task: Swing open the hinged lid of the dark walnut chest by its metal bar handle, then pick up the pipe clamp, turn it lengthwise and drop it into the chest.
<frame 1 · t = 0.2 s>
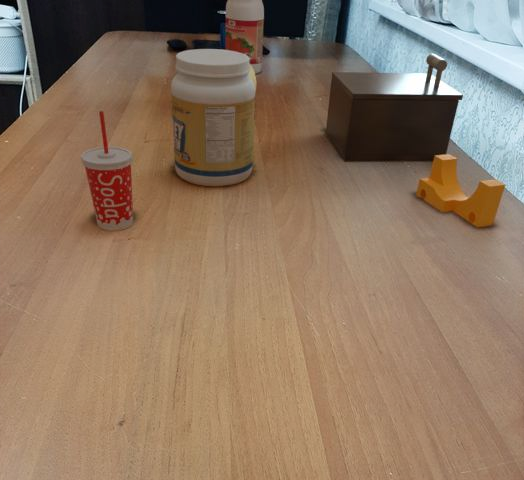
fruit juice: (243, 71, 148), on the table
chest: (382, 146, 104), on the table
chest lid: (396, 72, 96), point 13 cm above the table, hinge at 0.0°
pipe clamp: (451, 215, 82), on the table
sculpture: (226, 108, 120), on the table
beverage cup: (115, 224, 75), on the table
supplement tub: (214, 175, 90), on the table
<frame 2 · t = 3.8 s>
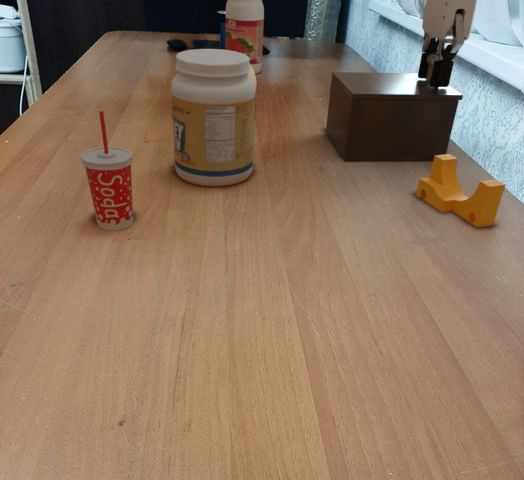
hand: (432, 81, 98), 11 cm above the table, tool pointing down, fingers closed on chest lid, 5 cm apart
chest lid: (396, 72, 96), point 13 cm above the table, hinge at 0.0°, touching gripper
everything else where it was.
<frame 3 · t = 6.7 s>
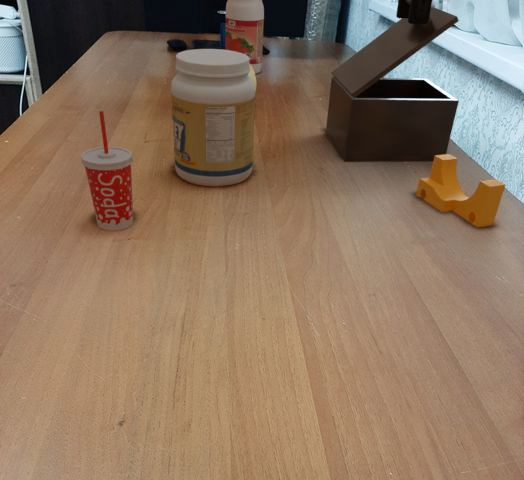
hand: (411, 19, 92), 20 cm above the table, tool pointing down, fingers closed on chest lid, 5 cm apart
chest lid: (383, 37, 93), point 18 cm above the table, hinge at 37.3°, touching gripper
everything else where it was.
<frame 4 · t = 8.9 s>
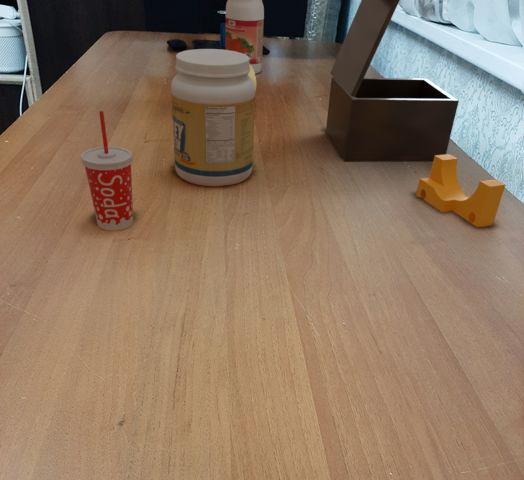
chest lid: (356, 21, 91), point 20 cm above the table, hinge at 70.3°, touching gripper
everything else where it was.
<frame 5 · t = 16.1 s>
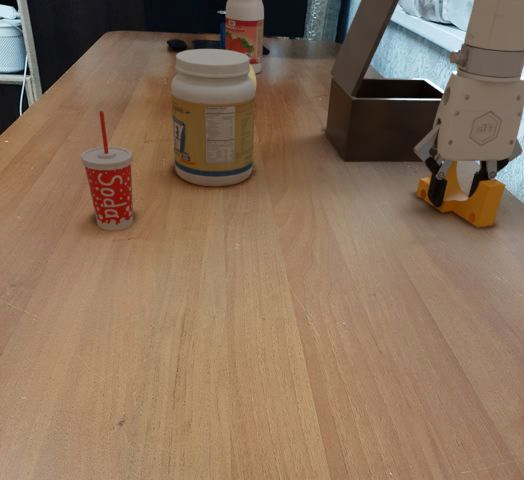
hand: (454, 202, 80), 2 cm above the table, tool pointing down, fingers closed on pipe clamp, 5 cm apart
chest lid: (355, 21, 91), point 20 cm above the table, hinge at 70.6°
pipe clamp: (451, 215, 82), on the table, touching gripper
everything else where it was.
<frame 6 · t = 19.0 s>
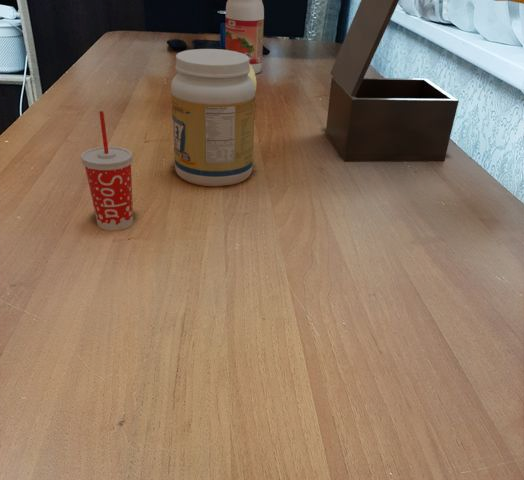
pipe clamp: (507, 2, 65), point 26 cm above the table, touching gripper
everything else where it was.
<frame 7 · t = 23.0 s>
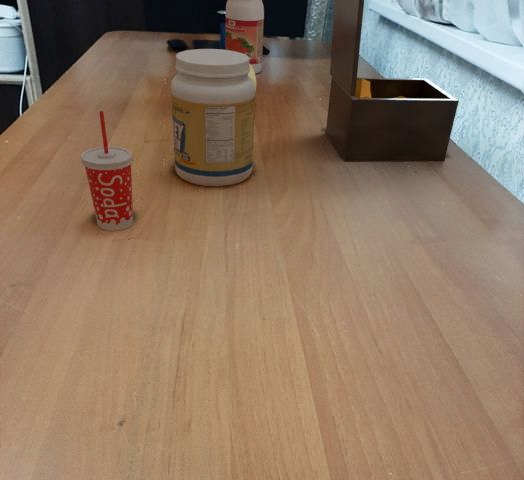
chest lid: (333, 22, 90), point 20 cm above the table, hinge at 92.3°
pipe clamp: (379, 128, 100), point 4 cm above the table, touching chest
everything else where it was.
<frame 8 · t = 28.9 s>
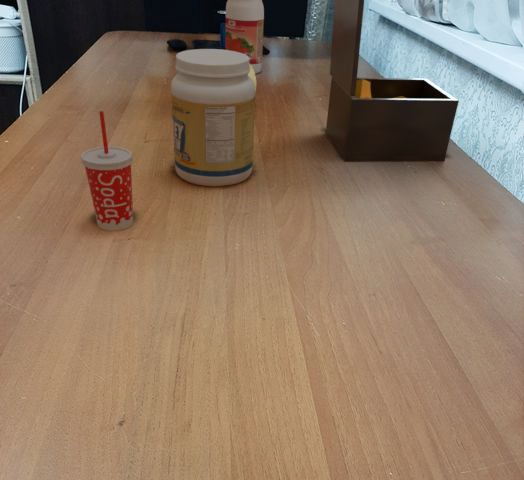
nothing on the table moved.
at the end: chest lid at +92° (first picture: +0°); pipe clamp inside the target area in the chest (2.7 cm from its centre), point 3.7 cm above the chest's base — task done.
